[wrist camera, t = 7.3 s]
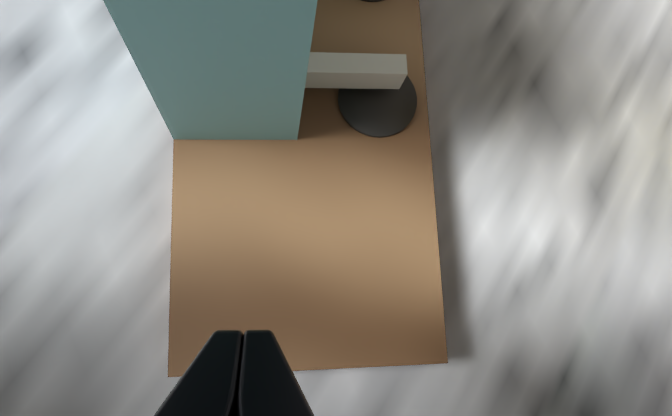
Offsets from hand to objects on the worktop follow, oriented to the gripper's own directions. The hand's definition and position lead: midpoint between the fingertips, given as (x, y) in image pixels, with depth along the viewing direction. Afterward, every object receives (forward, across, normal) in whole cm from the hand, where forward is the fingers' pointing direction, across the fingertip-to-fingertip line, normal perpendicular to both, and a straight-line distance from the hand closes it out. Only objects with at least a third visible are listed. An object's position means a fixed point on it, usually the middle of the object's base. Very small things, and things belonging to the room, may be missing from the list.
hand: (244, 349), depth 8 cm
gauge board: (+10, -1, +1) cm, 10 cm away
